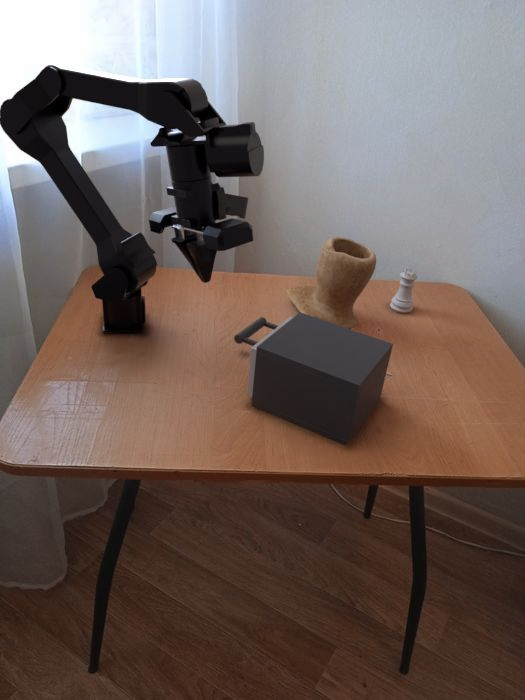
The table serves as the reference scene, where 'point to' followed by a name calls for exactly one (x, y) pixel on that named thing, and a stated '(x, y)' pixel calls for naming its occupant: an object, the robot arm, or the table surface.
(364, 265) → the stone cup
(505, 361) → the table surface
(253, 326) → the drawer
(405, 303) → the rook chess piece
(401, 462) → the table surface
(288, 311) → the table surface
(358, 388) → the cabinet
